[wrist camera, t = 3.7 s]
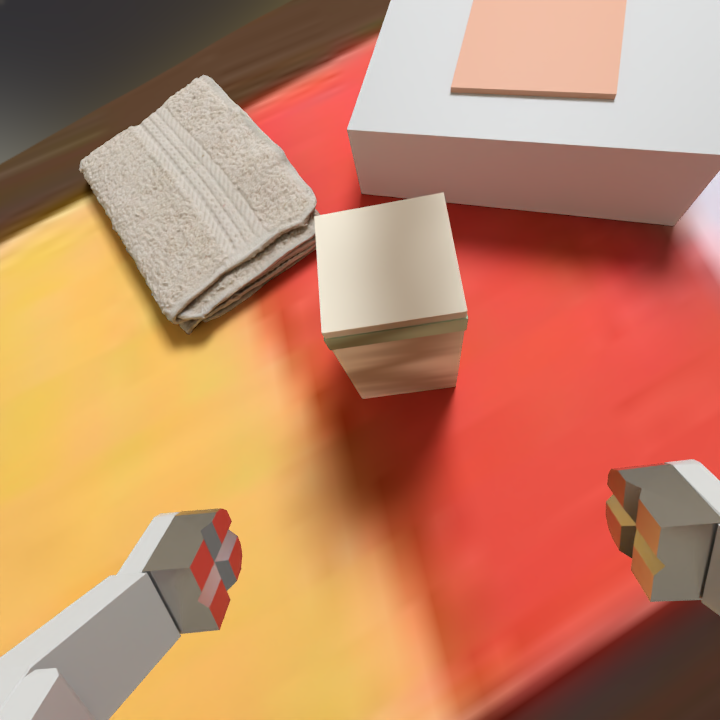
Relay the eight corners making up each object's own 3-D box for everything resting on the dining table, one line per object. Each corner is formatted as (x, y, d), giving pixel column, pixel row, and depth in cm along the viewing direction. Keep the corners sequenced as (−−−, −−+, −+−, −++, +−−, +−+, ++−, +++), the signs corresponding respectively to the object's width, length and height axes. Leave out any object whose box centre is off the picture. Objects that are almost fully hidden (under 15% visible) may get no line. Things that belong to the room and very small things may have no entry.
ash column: (361, 400, 23) (320, 334, 15) (353, 315, 25) (312, 215, 17) (457, 387, 23) (469, 312, 14) (441, 301, 25) (444, 190, 16)
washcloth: (195, 349, 27) (166, 329, 24) (89, 183, 33) (57, 151, 30) (348, 237, 28) (338, 204, 25) (216, 97, 34) (196, 58, 31)
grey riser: (361, 193, 28) (345, 125, 23) (409, 40, 32) (404, -46, 27) (673, 225, 24) (736, 150, 19) (683, 45, 28) (736, -56, 23)
